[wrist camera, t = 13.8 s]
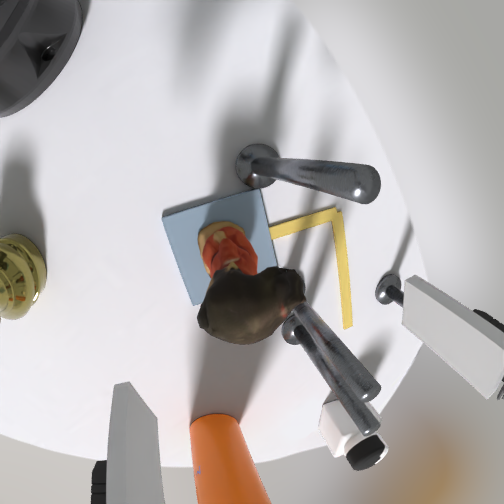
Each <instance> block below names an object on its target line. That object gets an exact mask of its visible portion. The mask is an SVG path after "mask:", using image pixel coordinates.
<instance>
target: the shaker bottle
mask: <svg viewBox="0 0 504 504" xmlns="http://www.w3.org/2000/svg"><path fill="white" fill-rule="evenodd" d="M190 440H191V451H192V460H193V469H194V477H195V486H196V493H197V500H198V504H271V502H270V499H269V497H268V495H267V493H266V490H265V488H264V486H263V483H262V481H261V479H260V476H259V474H258V472H257V469H256V467H255V464H254V462H253V460H252V457H251V455H250V452H249V450H248V447H247V445H246V442H245V439H244V437H243V434H242V432H241V429H240V426H239V424H238V422H237V420H236V419H235V418H233V417H231V416H229V415H225V414H210V415H206V416H203V417H200V418H198V419H197V420H195V421H194V422H193V423H192V424H191V426H190Z"/></svg>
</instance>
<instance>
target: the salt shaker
mask: <svg viewBox="0 0 504 504" xmlns="http://www.w3.org/2000/svg"><path fill="white" fill-rule="evenodd" d="M45 284H46V267H45V263H44V260H43V258H42V255H41V254H40V252H39V250H38V249H37V247H36V246H35V245H34V244H33V243H32V242H31V241H30V240H29V239H28V238H26V237H24V236H22V235H19V234H8V235H6V236H4V237H2V238H0V321H1V317H2V318H5V319H9V320H16V319H19V318H22V317H23V316H25V315H26V314H27V313H28V311H29V310H30V308H31V306H32V305H33V304H34V303H35V302H36V301H37V299H38V297H39V296H40V295H41V293H42V292H43V290H44V288H45Z"/></svg>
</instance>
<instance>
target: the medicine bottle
mask: <svg viewBox="0 0 504 504" xmlns="http://www.w3.org/2000/svg"><path fill="white" fill-rule="evenodd" d="M365 405H366V406H367V407H368V409H369V410H370V411H371V412H372V414H373V415H374V416H375V418H376V419H377V420H378V422H379V423H381V421H382V418H381V416H380V415H379V414H378V413H377V411H376V410H375V409H374V407H373V406H372V405H371V404H370V402H366V403H365ZM318 430H319V432H320V433H321V435H322V437H323V439H324V440H325V442H326V444H327V446H328V447H329V449H330V451H331V452H332V454H333V456H334V457H339V456H341V455H345V457H346V458H347V460H348V461H349V463H350V464H351V466H352V468H353V469H354V470H357V471H359V470H364V469H367V468H369V467H371V466H373V465H375V464H376V463H378V462H379V461H380V460H381V459H382V458H383V457H384V456H385V454H386V453H387V452H388V445H387V444H386V443H385V442H384V440H383V439H382V437H381V436H380V435H379V433H378V432H377V431H376V432H374V433H373V434H371V435H369V436H363V434H362V433H361V432H360V430H359V429H358V427H357V426H356V424H355V423H354V421H353V420H352V419H351V417H350V416H349V414H348V413H347V411H346V410H345V408H344V407H343V406H342V404H341V403H340V401H339V400H335V401H332V402H329V403H326V404H324V405H323V408H322V412H321V417H320V422H319V426H318Z"/></svg>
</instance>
